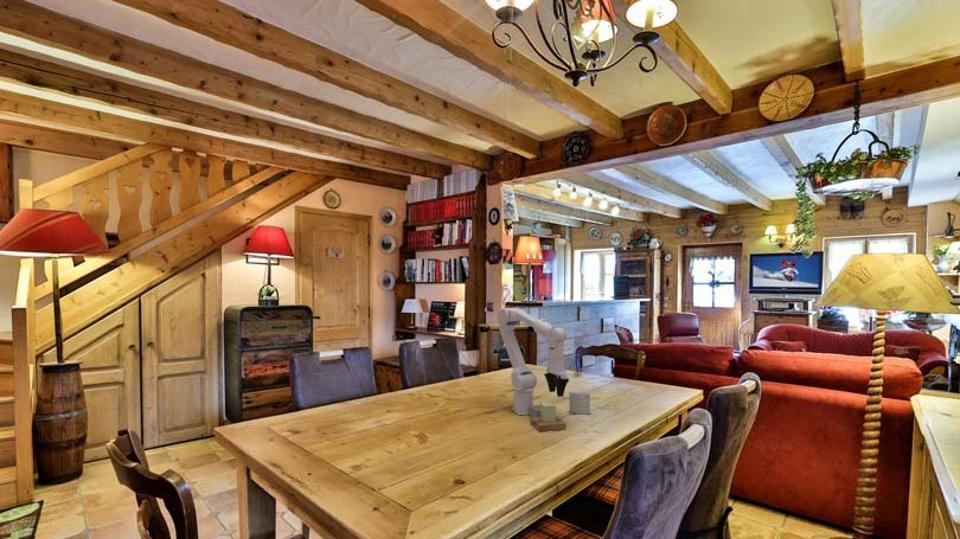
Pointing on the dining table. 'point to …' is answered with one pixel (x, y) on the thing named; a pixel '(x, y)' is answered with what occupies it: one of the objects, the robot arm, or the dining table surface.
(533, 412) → the grey block
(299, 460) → the dining table surface
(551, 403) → the sage block
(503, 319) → the robot arm
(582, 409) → the medicine box
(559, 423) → the walnut block
